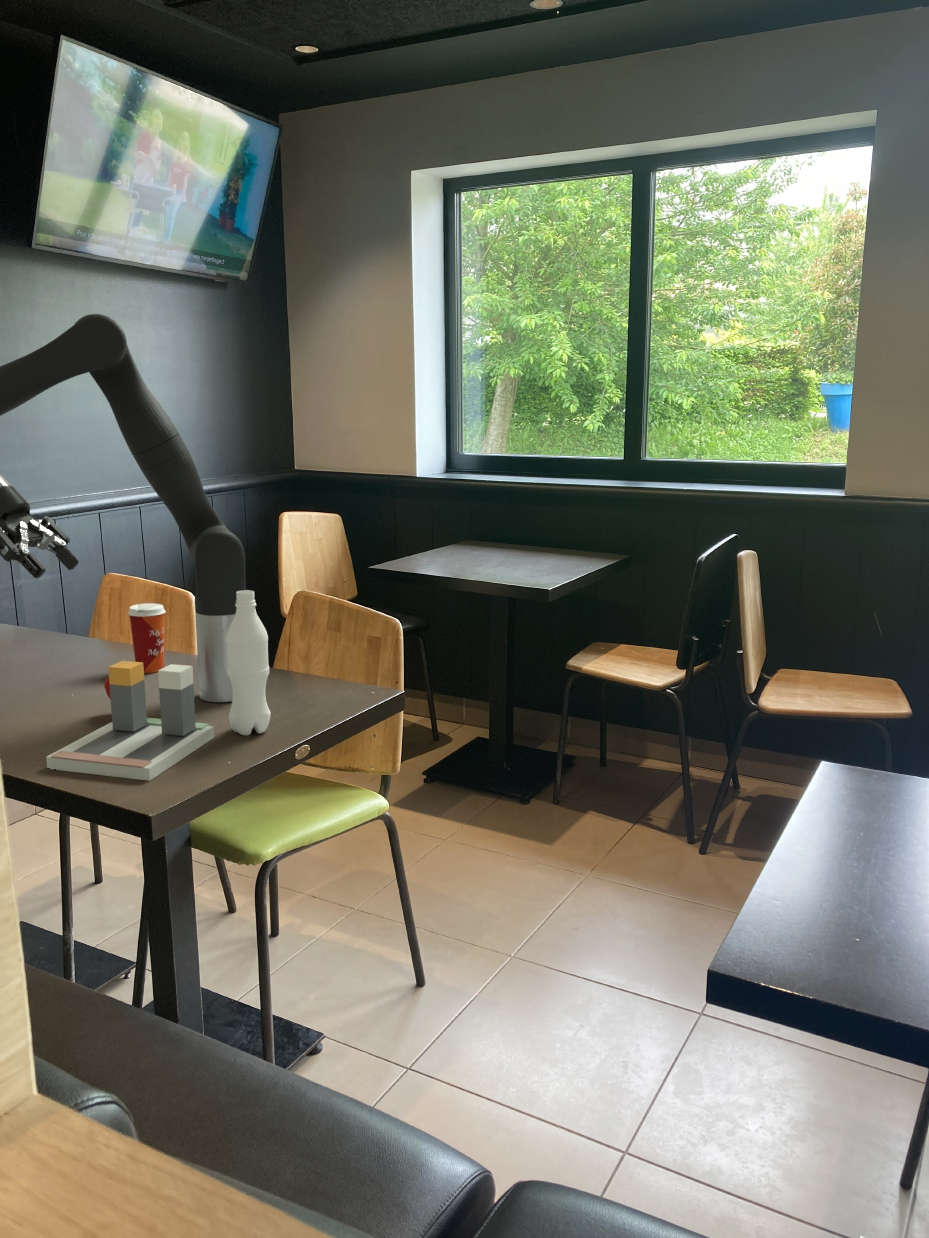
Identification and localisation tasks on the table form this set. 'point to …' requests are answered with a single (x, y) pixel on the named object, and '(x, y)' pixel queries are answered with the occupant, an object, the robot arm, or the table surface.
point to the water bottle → (248, 667)
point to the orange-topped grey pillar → (127, 695)
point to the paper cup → (148, 635)
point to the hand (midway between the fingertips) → (58, 570)
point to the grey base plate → (142, 736)
